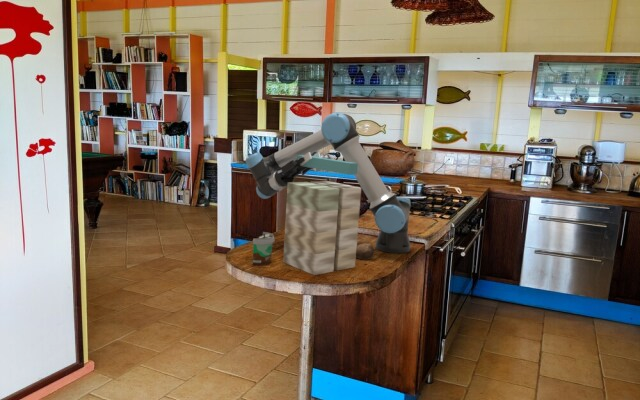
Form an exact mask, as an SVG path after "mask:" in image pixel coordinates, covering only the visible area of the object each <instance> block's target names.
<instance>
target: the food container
mask: <svg viewBox="0 0 640 400" xmlns="http://www.w3.org/2000/svg"><path fill="white" fill-rule="evenodd" d="M275 242H276V241H275V236H274V234H273V233H271V232H265V231H262V235H259V236H257V238H253V240H252V265H253V264H255V265H256V266H259V265H260V266H261V265H268V264H270V263H271V260H272V259H271V258H272V252H273V244H274V243H275ZM255 265H254V266H255Z"/></svg>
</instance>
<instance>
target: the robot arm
mask: <svg viewBox="0 0 640 400" xmlns="http://www.w3.org/2000/svg"><path fill="white" fill-rule="evenodd" d="M320 128H321V129H320V130H318V131H316V132H314V133H312V134H310V135H308V136H307V137H304V138H302V139H300V140H298V141H296V142H294V143H292V144H290V145H288V146H286V147H284V148H282V149H280V150H278V151H276V152H274V153H272V154H270V155H268V156H265V157H264V156H263V155H262V154H261V153H260V152H255V153H252V154H250V155H248V157H246V158H245V164H246V166H247V169H249V172H250V173H251V175H252V176H253V178H254V180H255V182H256V184H257V185H256V188H255V190H256V194H257V196H258V197H259V198H261V199H264V200H266V199H269V198H271V197H273V196H275V195H276V194H277V193H279V192H281V191H282V190H283V189H285V188H287V186H288V183H293V181H294V179H295V178H296V177H297V176H299V175H301V176H304V175H306V174H307V173H308V172H310V170H312V169H313V168H309V167H304V166H300V165H304V164H305V163H306V162H308V161H309V160H311V159H312V157H311V156H314V157H320V158H322V157H321V152H320V150H322V149H324V148H326V147H328V146H332V148H333V150H334V151H335V152H337V153H340V155H341V156H342V157H343V159H344V161H346V162H353V163H358V169H357V174H355V175H353V176H354V178H355V179H356V181H357V183H358V185H360V186H359V187H360V188H361V190H362V191H363V193H364V194H365V196H366V198H367V199H368V201H369V203H370V206H369V210H370V211H371V213H372V215H373V216H374V222H375V225H376V227H377V228H378V229H379V230H380V231H379V233H378V236H377V238H376V240H375V247H374V249H376V250H379V251H381V252H384V253H392V254H405V253H409V252H410V251H411V242H410V238H409V233H408V231H409V221H410V212H411V211H410V210H411V199H410V198H407V197H402V196H401V197H400V196H397V195H395V193H393V192H390V191H389V190H388V188H387V186H386V185H385V183H384V181H383V180H382V179H381V176H380V175H379V173H378V172H377V170H376V168H375V166H374V165H373V164H372V162H371V160H370V158H369V157H368V155H367V153H366V152H365V150H364V148H363V147H362V145H361V143H360V137H361V136H360V134H359V133H358V131H357V123H356V121H355V119H354V118H353V117H352V116H351V115H350V114H347V113H342V112H332V113H330V114H327V116H325V117H324V119H323V120H322V123H321V126H320ZM318 151H319V152H318ZM313 153H315V154H314V155H312V154H313ZM297 155H304V156H303V157H301V158H300V159H299V160H297Z"/></svg>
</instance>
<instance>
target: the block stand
mask: <svg viewBox="0 0 640 400" xmlns="http://www.w3.org/2000/svg"><path fill="white" fill-rule="evenodd" d="M286 191H287V192H286V193H287V194H286V206H285V207H286V209H285V223H284V242H283V243H284V244H283V256H282V257H283V258H282V259H283V261H282V262H283V263H284V264H287V265H290V266H291V267H293V268H297V269H298V270H302V271H303V272H306V273H308V274H309V275H310V274H311V275H313V276H316V275H317V276H318V275H321V274H327V273H331V272H334V270H335V271H337V272H338V271H341V270H346V269H352V268H355V267H356V259H357V257H356V247H357V245H358V233H359V223H360V222H359V220H360V210H361V209H360V208H361V197H362V195H361V194H362V188H361V186H354V185H350V184H344V183H339V182H334V181H330V180H329V181H328V180H327V181H326V180H320V181H310V182H308V181H297V182H292V183H288V186H286Z"/></svg>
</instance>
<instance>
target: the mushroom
mask: <svg viewBox="0 0 640 400" xmlns="http://www.w3.org/2000/svg"><path fill="white" fill-rule="evenodd" d="M374 255H375V247H373V245H372V244H370V243H367V242H366V243H361V244H357V247H356V259H359V260H365V261H366V260H367V261H368V260H370V259H372V258H373V257H374Z"/></svg>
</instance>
